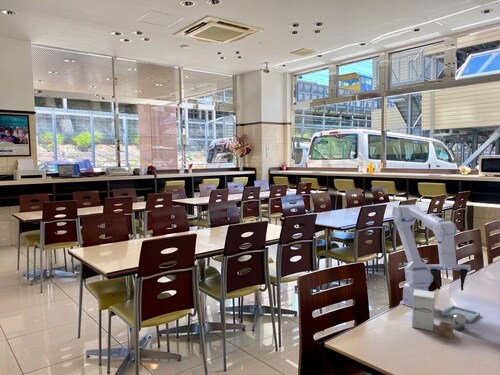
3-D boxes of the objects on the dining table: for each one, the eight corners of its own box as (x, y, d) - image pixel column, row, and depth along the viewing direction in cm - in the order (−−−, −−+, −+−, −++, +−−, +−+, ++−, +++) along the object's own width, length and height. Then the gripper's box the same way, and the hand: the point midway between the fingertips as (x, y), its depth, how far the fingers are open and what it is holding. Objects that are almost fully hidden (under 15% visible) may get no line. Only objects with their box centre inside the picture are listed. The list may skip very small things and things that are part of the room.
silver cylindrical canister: (450, 328, 140) (451, 315, 139) (455, 325, 142) (455, 312, 142) (462, 332, 137) (463, 318, 136) (466, 328, 139) (467, 315, 139)
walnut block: (438, 336, 134) (439, 325, 133) (440, 332, 137) (440, 321, 137) (451, 339, 131) (452, 328, 131) (452, 334, 135) (453, 324, 135)
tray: (441, 315, 151) (441, 312, 151) (451, 308, 158) (451, 305, 158) (470, 323, 144) (470, 320, 143) (480, 315, 150) (480, 312, 150)
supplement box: (411, 327, 141) (412, 294, 140) (413, 320, 147) (413, 288, 146) (433, 331, 137) (434, 297, 136) (434, 323, 144) (435, 291, 143)
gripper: (425, 254, 144) (428, 290, 143) (468, 254, 137) (472, 292, 135) (426, 252, 150) (430, 287, 149) (468, 252, 143) (472, 288, 142)
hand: (450, 289), depth 142 cm, fingers open, 7 cm apart
